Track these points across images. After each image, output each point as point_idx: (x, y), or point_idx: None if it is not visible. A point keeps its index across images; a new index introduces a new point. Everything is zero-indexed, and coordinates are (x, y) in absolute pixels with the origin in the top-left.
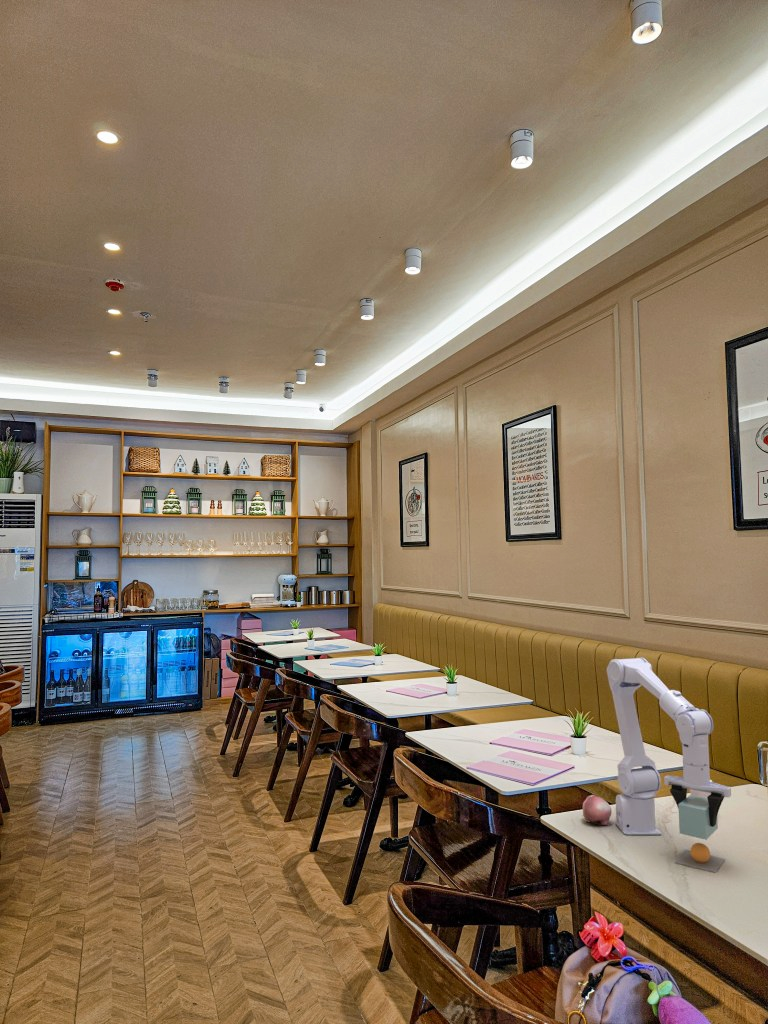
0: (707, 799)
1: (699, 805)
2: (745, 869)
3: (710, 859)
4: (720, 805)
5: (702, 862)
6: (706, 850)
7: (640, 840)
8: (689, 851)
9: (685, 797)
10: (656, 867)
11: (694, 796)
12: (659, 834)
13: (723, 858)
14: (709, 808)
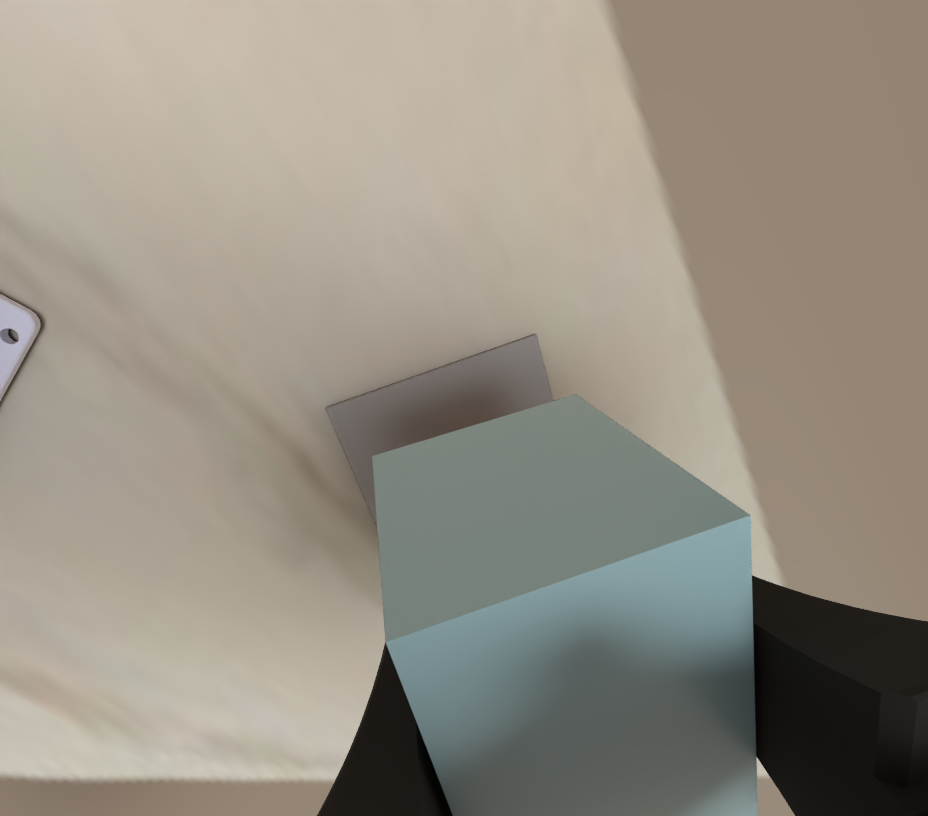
0: (659, 607)
1: (673, 811)
2: (650, 360)
3: (493, 412)
4: (823, 604)
5: None
6: None
7: (61, 508)
8: (361, 414)
9: (430, 792)
10: None
11: (476, 660)
12: (37, 332)
13: (529, 340)
14: (758, 754)
